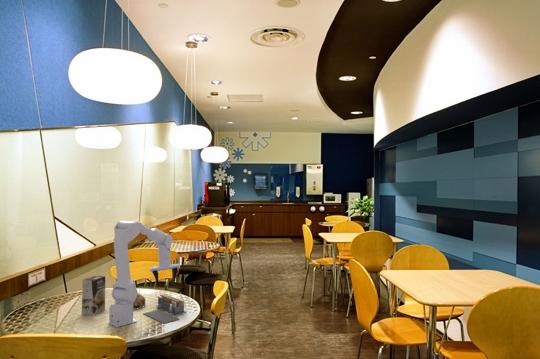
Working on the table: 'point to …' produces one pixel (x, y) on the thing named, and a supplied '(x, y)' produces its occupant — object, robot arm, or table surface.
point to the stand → (170, 306)
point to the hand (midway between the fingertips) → (165, 284)
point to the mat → (161, 316)
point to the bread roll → (139, 302)
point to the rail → (169, 299)
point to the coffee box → (93, 295)
